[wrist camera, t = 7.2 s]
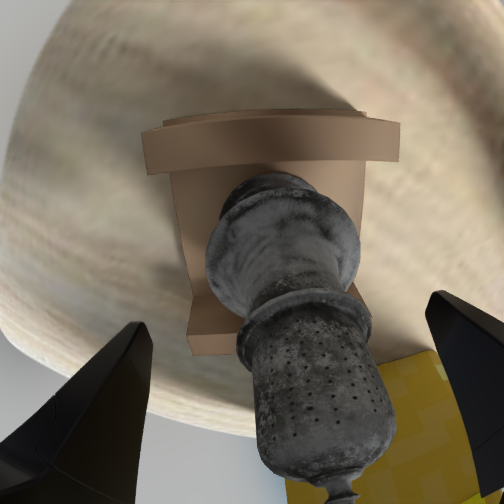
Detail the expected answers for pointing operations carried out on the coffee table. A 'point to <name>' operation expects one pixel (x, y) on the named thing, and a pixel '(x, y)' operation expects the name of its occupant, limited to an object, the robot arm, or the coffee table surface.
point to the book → (415, 445)
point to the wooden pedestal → (248, 166)
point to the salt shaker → (301, 331)
